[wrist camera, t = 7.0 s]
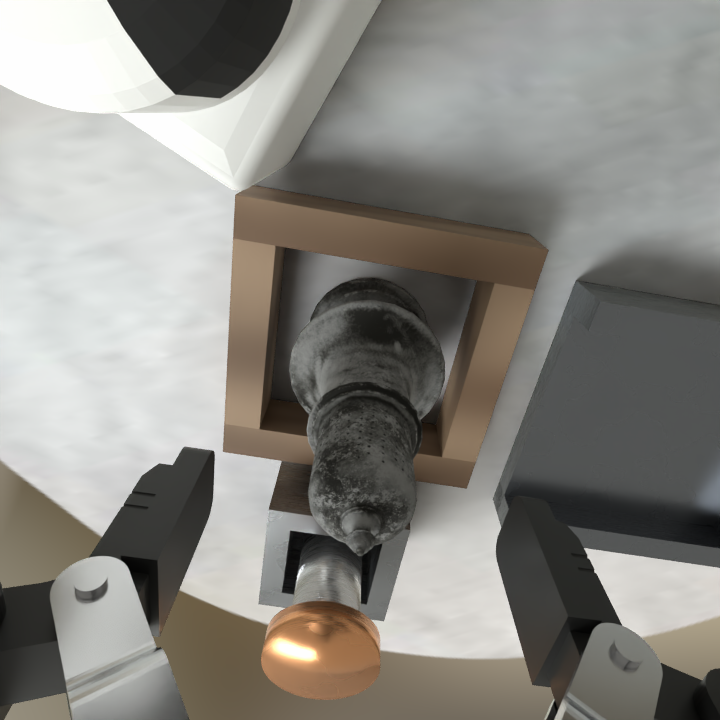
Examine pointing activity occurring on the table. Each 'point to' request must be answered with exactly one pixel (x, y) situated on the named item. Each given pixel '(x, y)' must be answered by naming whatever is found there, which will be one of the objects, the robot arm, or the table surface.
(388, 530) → the dark grey chess piece
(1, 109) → the table surface
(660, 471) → the tray
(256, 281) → the socket collar
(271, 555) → the housing
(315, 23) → the medicine bottle
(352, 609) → the copper mushroom knob
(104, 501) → the table surface
